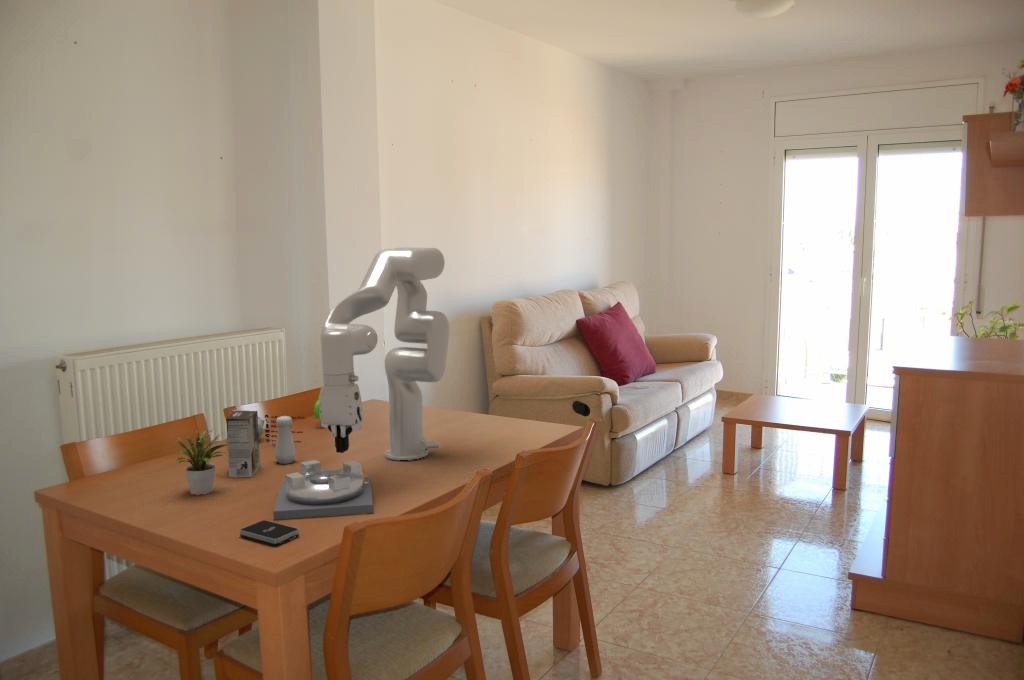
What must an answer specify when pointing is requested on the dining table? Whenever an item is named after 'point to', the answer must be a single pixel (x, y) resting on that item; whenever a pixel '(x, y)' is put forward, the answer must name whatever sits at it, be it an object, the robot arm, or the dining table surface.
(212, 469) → the house plant
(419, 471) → the dining table surface
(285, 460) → the salt shaker
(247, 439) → the coffee box
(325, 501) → the domed turntable base
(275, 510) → the housing plate
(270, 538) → the external hard drive
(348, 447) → the robot arm
